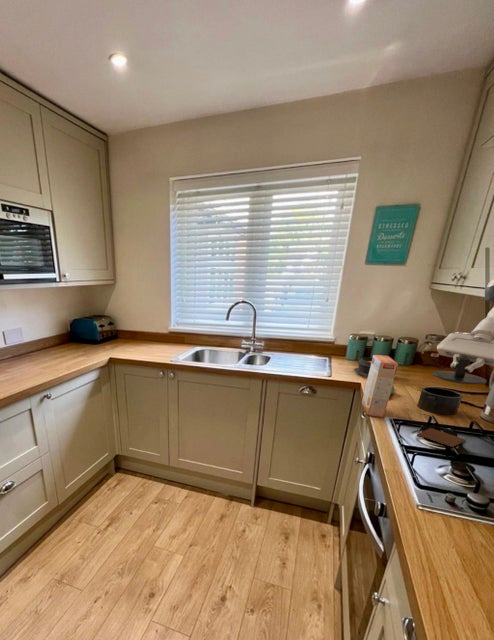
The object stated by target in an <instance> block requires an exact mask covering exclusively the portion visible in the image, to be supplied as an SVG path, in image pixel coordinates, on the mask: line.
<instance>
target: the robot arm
mask: <svg viewBox="0 0 494 640" xmlns="http://www.w3.org/2000/svg"><path fill="white" fill-rule="evenodd" d="M484 298H485V301H487V302H488V303H490V304H492V305H494V277H493V278H492V279H491V280H489V282H488V283H487V284H486V285H485V288H484ZM436 350H437V353H438V355H440V356H443V357H447V358H452V362H451V363H450V369H453V370H456V367H457V364H458V361H459V358H465V359H469V360H470V361H469V362H473V363H471V364H470V363H469V364H468V365H467V366H466V367H465V371H466V373H469V374H470V373H472V372H473V371H474V370H476V369H478V368H481V367H483V366H484V365H489V366H493V367H494V306H493V307H492V308H490V310H489V312H487V315H486V317H485V318H483V319H482V320H480V322H479V323H478V324H477V325H476V326H475V328H474V329H472V330H471V332H463V331H456V332H450V333H449V334H448V335H447V336H446V337H445V338H444V339H443V340H441V341H440V343H438V344H437V345H436Z"/></svg>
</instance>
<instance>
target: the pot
mask: <svg viewBox="0 0 494 640" xmlns="http://www.w3.org/2000/svg"><path fill="white" fill-rule="evenodd" d="M420 391H421V392H420V394H419V398H418V401H417V404H416V406H417V408H418V409H419V410H422V411H424V412H427V413H430V414H434V415H440V416H447V417H448V416H449V417H450V416H455V415H457V414H458V411H459V408H460V406H461V403H462V399H463V398H464V397H463V394H461V393H460V392H457V391H455V390H451V389H448V388H442V387H436V386H435V387H434V386H433V387H432V386H428V387H427V386H426V387H422V388H421V390H420ZM430 414H425V413H424V415H425V416H428V417H430ZM434 418H435V419H436V418H437V417H435V416H434Z"/></svg>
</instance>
